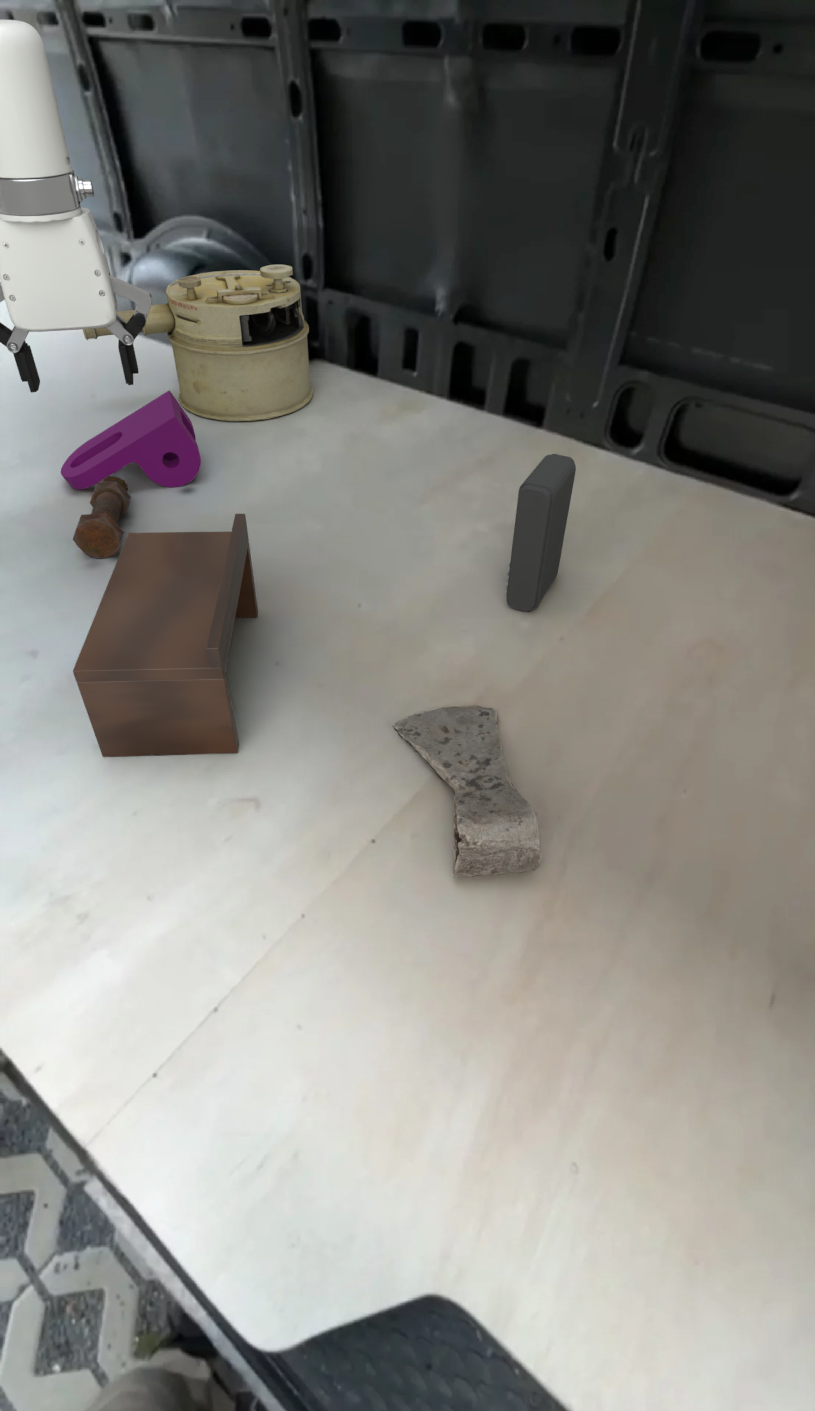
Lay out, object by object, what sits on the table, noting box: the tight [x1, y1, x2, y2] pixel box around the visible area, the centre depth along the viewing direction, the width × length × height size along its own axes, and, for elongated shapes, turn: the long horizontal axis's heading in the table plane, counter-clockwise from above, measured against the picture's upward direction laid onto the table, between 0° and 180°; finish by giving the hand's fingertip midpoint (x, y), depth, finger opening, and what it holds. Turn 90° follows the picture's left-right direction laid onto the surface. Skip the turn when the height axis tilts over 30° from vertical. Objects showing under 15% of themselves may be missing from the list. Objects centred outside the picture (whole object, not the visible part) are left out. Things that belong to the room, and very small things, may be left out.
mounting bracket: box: [60, 389, 202, 491], centre depth 110 cm, size 10×8×18 cm
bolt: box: [72, 475, 132, 559], centre depth 99 cm, size 6×5×15 cm
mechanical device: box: [81, 263, 314, 422], centre depth 125 cm, size 22×34×20 cm, turn 109°
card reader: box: [505, 453, 577, 612], centre depth 86 cm, size 9×4×15 cm, turn 154°
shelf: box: [72, 513, 259, 758], centre depth 75 cm, size 12×22×12 cm, turn 3°
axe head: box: [393, 705, 541, 878], centre depth 68 cm, size 21×5×10 cm
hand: (83, 383), depth 84 cm, fingers open, 9 cm apart
